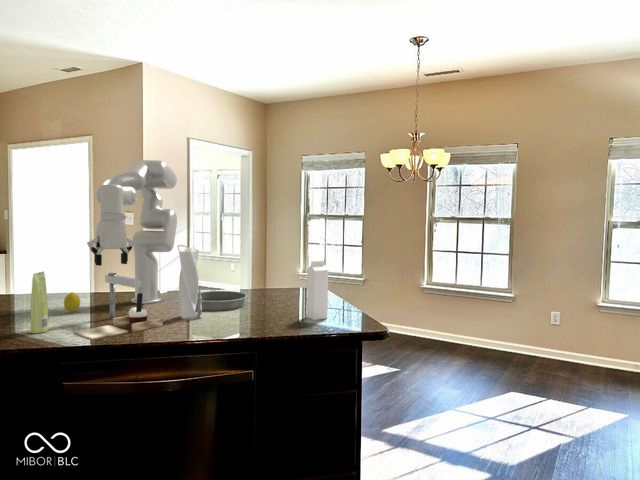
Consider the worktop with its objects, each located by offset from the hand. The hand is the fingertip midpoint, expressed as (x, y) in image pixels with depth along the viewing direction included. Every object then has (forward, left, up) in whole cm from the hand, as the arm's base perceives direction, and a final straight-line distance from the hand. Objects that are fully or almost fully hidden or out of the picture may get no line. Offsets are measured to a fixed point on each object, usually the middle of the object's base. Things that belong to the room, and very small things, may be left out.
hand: (111, 264), depth 169 cm
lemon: (+5, -21, -20) cm, 30 cm away
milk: (-52, +56, -20) cm, 79 cm away
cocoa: (0, +17, -20) cm, 26 cm away
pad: (+13, +17, -20) cm, 29 cm away
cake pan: (-43, +9, -21) cm, 49 cm away
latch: (0, +7, -20) cm, 21 cm away
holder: (0, +17, -20) cm, 26 cm away
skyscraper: (-20, +19, -21) cm, 35 cm away
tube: (+25, +1, -20) cm, 32 cm away
